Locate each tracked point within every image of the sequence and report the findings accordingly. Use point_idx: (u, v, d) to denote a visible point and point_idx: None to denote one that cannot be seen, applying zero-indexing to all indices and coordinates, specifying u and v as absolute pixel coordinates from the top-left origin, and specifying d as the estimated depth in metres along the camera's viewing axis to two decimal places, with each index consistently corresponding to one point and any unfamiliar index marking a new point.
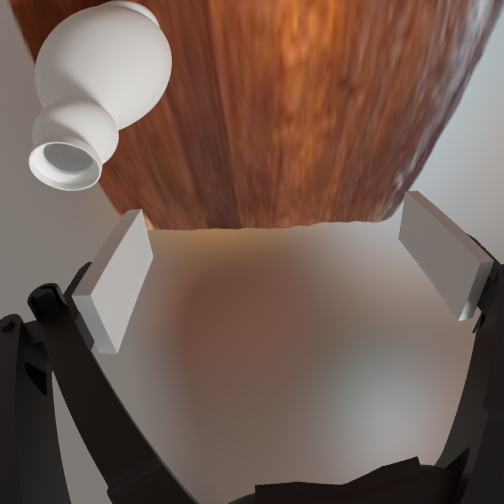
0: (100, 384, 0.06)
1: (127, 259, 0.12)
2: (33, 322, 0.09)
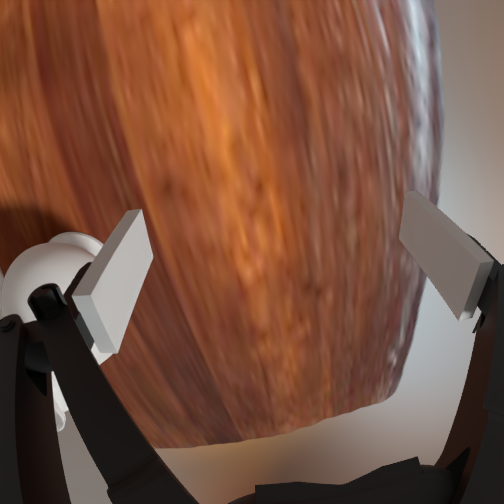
0: (100, 384, 0.06)
1: (127, 259, 0.12)
2: (33, 322, 0.09)
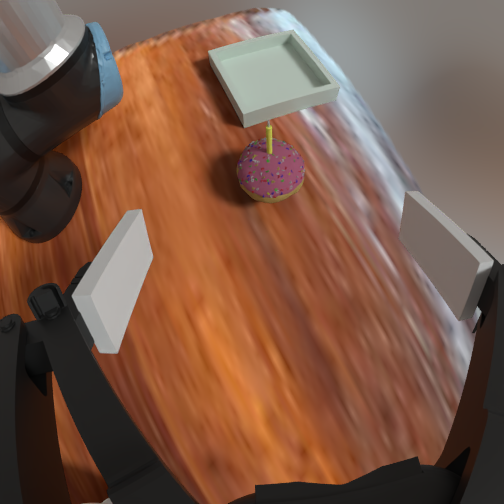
0: (100, 384, 0.06)
1: (127, 259, 0.12)
2: (33, 322, 0.09)
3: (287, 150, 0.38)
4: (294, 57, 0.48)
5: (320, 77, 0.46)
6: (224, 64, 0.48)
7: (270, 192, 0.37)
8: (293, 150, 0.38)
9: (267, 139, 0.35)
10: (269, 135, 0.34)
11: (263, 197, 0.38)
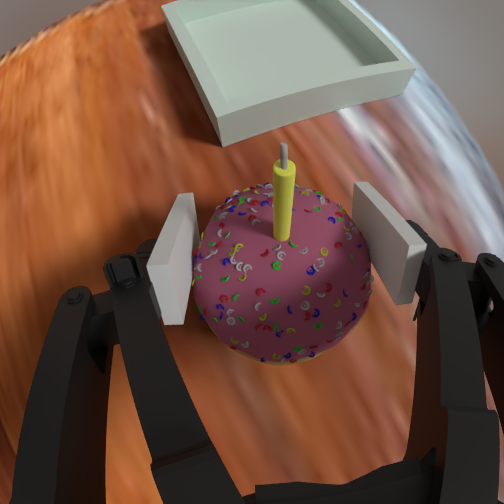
0: (166, 359, 0.07)
1: (186, 237, 0.14)
2: (100, 294, 0.10)
3: (332, 226, 0.13)
4: (319, 15, 0.24)
5: (373, 49, 0.22)
6: (191, 27, 0.24)
7: (281, 352, 0.13)
8: (346, 223, 0.14)
9: (277, 207, 0.11)
10: (285, 198, 0.10)
11: (262, 359, 0.14)
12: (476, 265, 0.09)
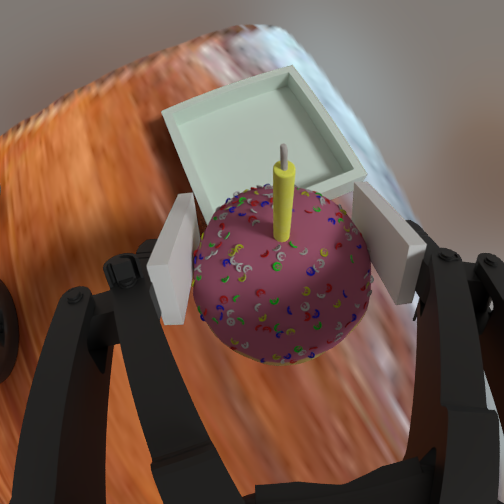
0: (166, 359, 0.07)
1: (186, 237, 0.14)
2: (100, 294, 0.10)
3: (332, 227, 0.13)
4: (294, 111, 0.34)
5: (335, 151, 0.32)
6: (188, 129, 0.34)
7: (280, 353, 0.13)
8: (346, 223, 0.14)
9: (277, 207, 0.11)
10: (285, 198, 0.10)
11: (262, 360, 0.14)
12: (476, 265, 0.09)
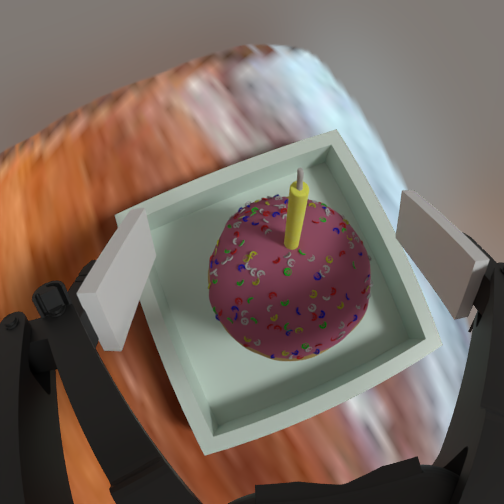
0: (104, 382, 0.06)
1: (131, 257, 0.13)
2: (37, 320, 0.09)
3: (337, 235, 0.15)
4: None
5: (398, 297, 0.19)
6: (161, 242, 0.22)
7: (289, 349, 0.15)
8: (349, 232, 0.15)
9: (290, 220, 0.12)
10: (298, 213, 0.11)
11: None
12: None
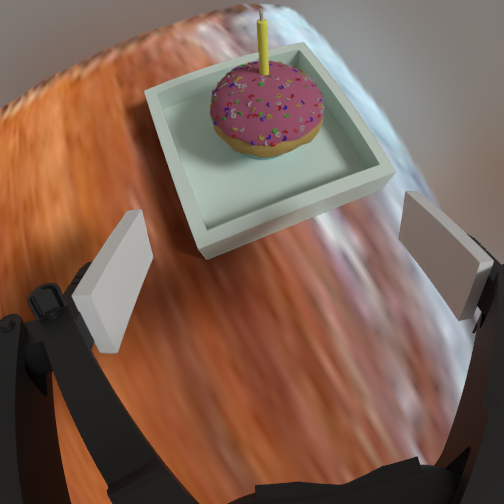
0: (100, 384, 0.06)
1: (127, 259, 0.12)
2: (33, 322, 0.09)
3: (295, 73, 0.20)
4: None
5: (356, 143, 0.25)
6: (176, 113, 0.27)
7: (264, 136, 0.20)
8: (304, 75, 0.21)
9: (260, 45, 0.18)
10: (263, 37, 0.17)
11: (252, 145, 0.21)
12: None
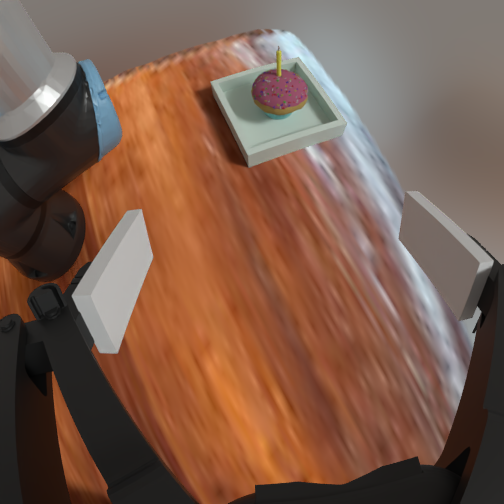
0: (100, 384, 0.06)
1: (127, 259, 0.12)
2: (33, 322, 0.09)
3: (293, 75, 0.42)
4: None
5: (326, 111, 0.46)
6: (227, 95, 0.49)
7: (279, 104, 0.42)
8: (298, 76, 0.42)
9: (277, 62, 0.39)
10: (279, 58, 0.38)
11: (274, 108, 0.42)
12: None
